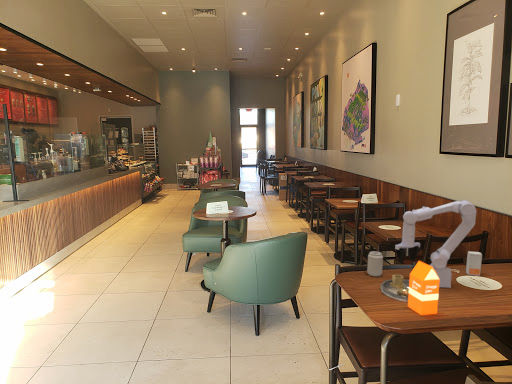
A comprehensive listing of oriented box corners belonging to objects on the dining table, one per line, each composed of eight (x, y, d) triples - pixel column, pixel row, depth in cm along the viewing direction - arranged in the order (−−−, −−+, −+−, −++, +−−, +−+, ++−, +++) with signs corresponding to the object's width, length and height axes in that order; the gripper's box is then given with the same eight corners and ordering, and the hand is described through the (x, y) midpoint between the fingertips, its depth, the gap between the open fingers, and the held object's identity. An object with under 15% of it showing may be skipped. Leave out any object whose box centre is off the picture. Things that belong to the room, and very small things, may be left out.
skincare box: (467, 274, 201) (469, 253, 200) (465, 272, 205) (467, 251, 204) (480, 276, 200) (482, 254, 198) (478, 273, 204) (480, 252, 202)
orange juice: (420, 315, 153) (424, 267, 150) (407, 306, 161) (410, 260, 159) (437, 313, 155) (441, 266, 152) (423, 304, 163) (426, 259, 161)
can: (380, 272, 203) (381, 250, 202) (383, 277, 196) (384, 255, 194) (365, 271, 204) (366, 250, 202) (368, 276, 197) (369, 254, 195)
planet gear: (397, 282, 186) (398, 273, 186) (407, 286, 180) (408, 277, 180) (387, 284, 184) (388, 274, 183) (397, 288, 178) (397, 279, 177)
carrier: (426, 284, 186) (427, 276, 186) (444, 305, 163) (445, 295, 162) (376, 281, 189) (377, 273, 189) (387, 301, 166) (387, 292, 165)
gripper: (413, 232, 195) (411, 258, 197) (391, 234, 189) (389, 261, 191) (424, 235, 188) (422, 262, 190) (401, 238, 183) (400, 265, 184)
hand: (406, 261), depth 190 cm, fingers open, 7 cm apart
